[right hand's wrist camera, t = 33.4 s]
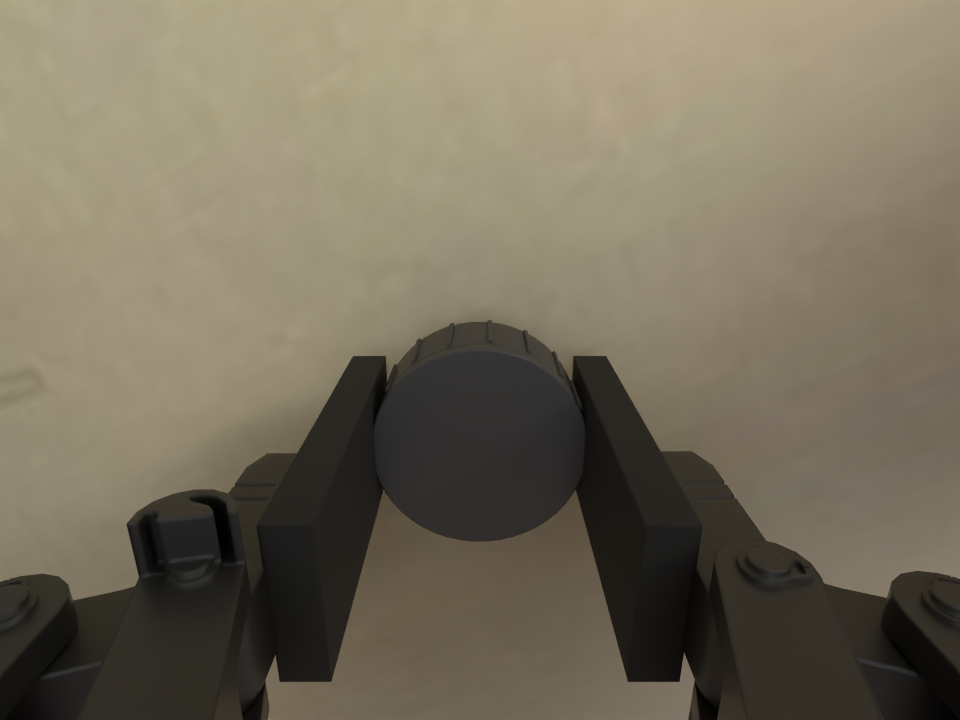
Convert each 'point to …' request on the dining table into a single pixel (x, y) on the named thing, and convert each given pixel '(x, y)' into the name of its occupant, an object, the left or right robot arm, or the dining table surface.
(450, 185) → the dining table surface
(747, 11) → the dining table surface
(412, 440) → the cap
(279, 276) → the dining table surface
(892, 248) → the dining table surface
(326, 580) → the right robot arm
